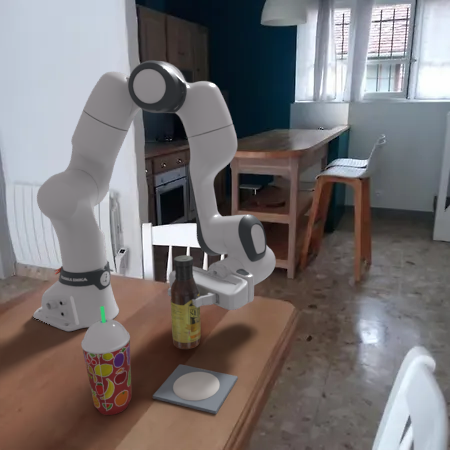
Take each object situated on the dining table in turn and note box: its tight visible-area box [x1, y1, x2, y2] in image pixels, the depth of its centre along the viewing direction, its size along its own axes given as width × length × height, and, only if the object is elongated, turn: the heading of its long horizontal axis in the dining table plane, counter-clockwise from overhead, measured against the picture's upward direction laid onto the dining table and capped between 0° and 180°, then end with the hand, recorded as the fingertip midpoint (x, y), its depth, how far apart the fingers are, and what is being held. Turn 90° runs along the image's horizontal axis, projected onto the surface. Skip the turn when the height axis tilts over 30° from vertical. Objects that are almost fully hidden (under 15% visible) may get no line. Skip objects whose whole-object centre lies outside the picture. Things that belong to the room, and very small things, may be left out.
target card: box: [152, 364, 239, 415], centre depth 86 cm, size 13×11×1 cm
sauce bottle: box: [170, 254, 202, 350], centre depth 95 cm, size 7×6×20 cm
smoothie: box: [80, 306, 132, 416], centre depth 80 cm, size 8×8×20 cm
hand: (181, 298), depth 95 cm, fingers closed on sauce bottle, 6 cm apart
